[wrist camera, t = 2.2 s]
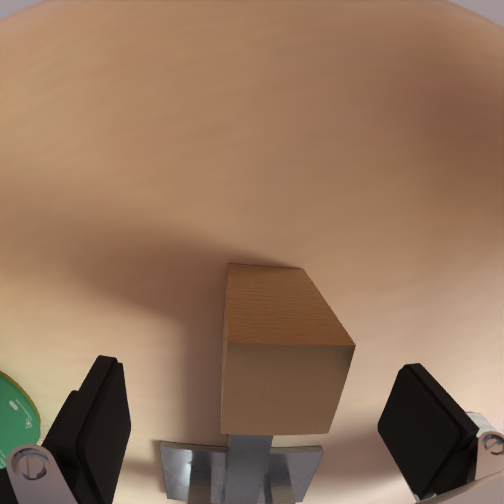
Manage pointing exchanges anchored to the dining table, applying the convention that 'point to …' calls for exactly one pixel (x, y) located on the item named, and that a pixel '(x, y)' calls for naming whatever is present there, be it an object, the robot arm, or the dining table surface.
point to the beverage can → (16, 418)
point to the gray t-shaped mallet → (275, 368)
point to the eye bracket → (213, 470)
